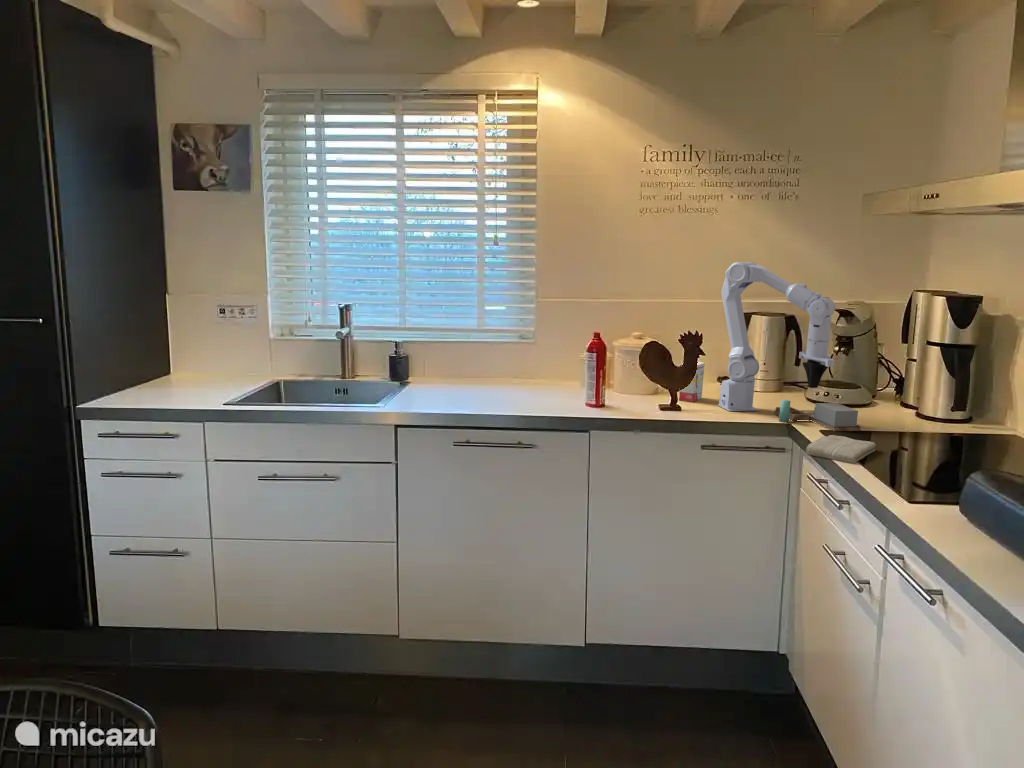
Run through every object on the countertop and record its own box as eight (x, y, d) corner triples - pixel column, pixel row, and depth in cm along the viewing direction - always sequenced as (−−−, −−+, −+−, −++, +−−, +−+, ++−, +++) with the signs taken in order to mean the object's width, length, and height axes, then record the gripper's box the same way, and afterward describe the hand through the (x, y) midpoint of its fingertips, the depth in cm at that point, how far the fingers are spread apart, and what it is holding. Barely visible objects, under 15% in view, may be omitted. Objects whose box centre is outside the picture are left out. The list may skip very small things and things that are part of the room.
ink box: (693, 402, 254) (696, 365, 252) (678, 400, 257) (680, 363, 255) (702, 398, 261) (705, 362, 259) (688, 396, 264) (690, 360, 262)
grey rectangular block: (834, 426, 223) (835, 411, 222) (814, 418, 233) (815, 403, 232) (856, 426, 224) (858, 410, 224) (835, 418, 234) (837, 403, 233)
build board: (792, 421, 232) (793, 415, 232) (774, 413, 242) (775, 407, 242) (809, 421, 233) (810, 414, 233) (790, 413, 243) (791, 406, 243)
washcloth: (876, 452, 204) (878, 440, 203) (855, 466, 190) (856, 453, 189) (828, 443, 211) (829, 431, 211) (804, 456, 197) (805, 444, 197)
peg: (781, 422, 231) (783, 401, 230) (777, 420, 233) (779, 399, 232) (790, 422, 231) (792, 401, 230) (785, 420, 234) (787, 399, 233)
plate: (833, 431, 222) (835, 419, 222) (791, 413, 243) (792, 402, 243) (860, 430, 224) (861, 419, 223) (816, 412, 245) (817, 402, 244)
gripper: (846, 344, 224) (840, 392, 227) (816, 336, 238) (811, 382, 241) (823, 344, 223) (817, 392, 225) (794, 336, 237) (789, 382, 239)
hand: (812, 387), depth 233 cm, fingers closed
